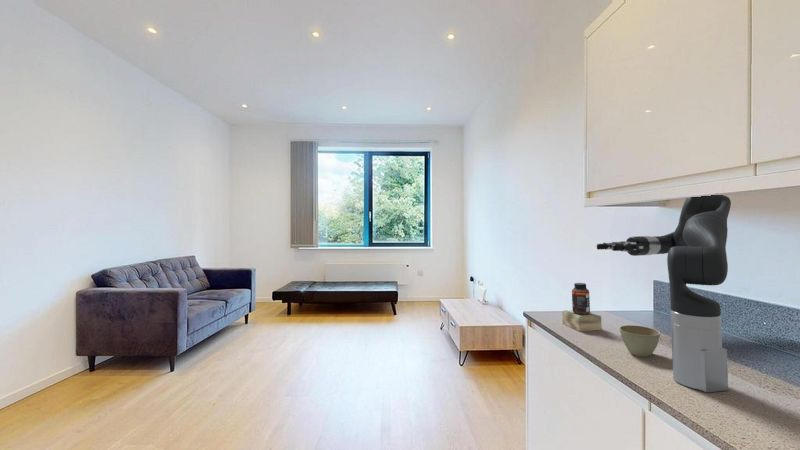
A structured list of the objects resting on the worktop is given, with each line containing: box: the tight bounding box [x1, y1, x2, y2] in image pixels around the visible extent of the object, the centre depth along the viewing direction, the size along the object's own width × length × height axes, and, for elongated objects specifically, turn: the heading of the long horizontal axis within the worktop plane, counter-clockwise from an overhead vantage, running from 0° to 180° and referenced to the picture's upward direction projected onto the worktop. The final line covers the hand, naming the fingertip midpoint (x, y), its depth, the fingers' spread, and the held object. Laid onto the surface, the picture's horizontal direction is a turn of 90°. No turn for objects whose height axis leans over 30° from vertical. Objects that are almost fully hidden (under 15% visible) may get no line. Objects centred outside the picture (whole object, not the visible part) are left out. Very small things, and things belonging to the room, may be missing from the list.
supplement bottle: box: [571, 282, 591, 314], centre depth 129 cm, size 6×6×11 cm
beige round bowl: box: [618, 324, 661, 358], centre depth 101 cm, size 10×10×7 cm
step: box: [561, 309, 603, 332], centre depth 129 cm, size 10×9×5 cm
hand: (605, 247), depth 131 cm, fingers open, 8 cm apart
